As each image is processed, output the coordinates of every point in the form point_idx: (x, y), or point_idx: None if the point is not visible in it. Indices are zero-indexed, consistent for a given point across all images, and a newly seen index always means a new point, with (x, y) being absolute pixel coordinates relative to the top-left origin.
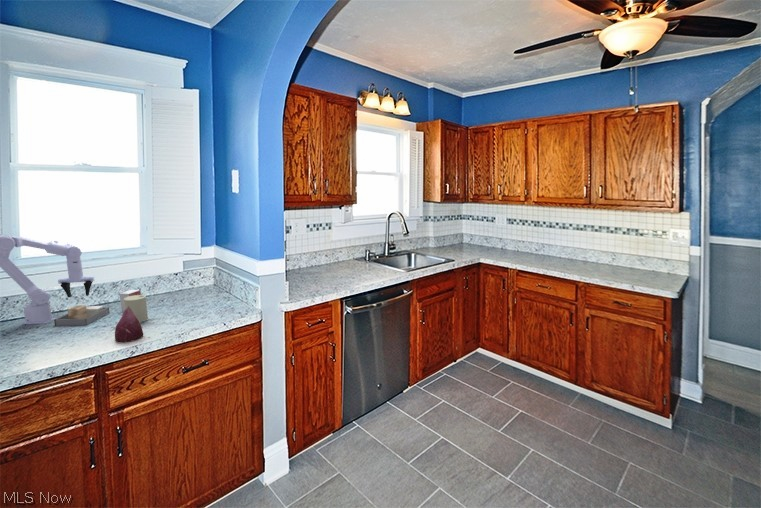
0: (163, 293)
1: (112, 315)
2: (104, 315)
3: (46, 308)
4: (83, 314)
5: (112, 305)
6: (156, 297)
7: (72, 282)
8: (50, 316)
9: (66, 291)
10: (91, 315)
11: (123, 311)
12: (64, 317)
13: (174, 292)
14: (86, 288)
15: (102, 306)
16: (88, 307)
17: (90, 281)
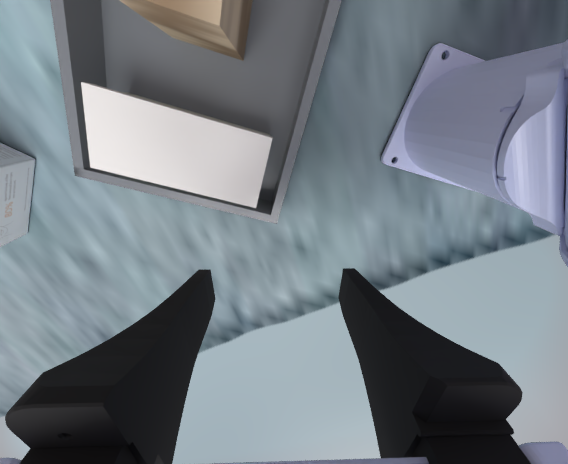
0: None
1: (64, 118)
2: None
3: (497, 82)
4: None
5: None
6: (41, 361)
7: (341, 460)
8: (422, 115)
9: (384, 306)
10: (173, 106)
11: (6, 150)
12: (322, 24)
13: (10, 398)
14: (153, 322)
15: (90, 156)
16: (190, 161)
17: (25, 461)
